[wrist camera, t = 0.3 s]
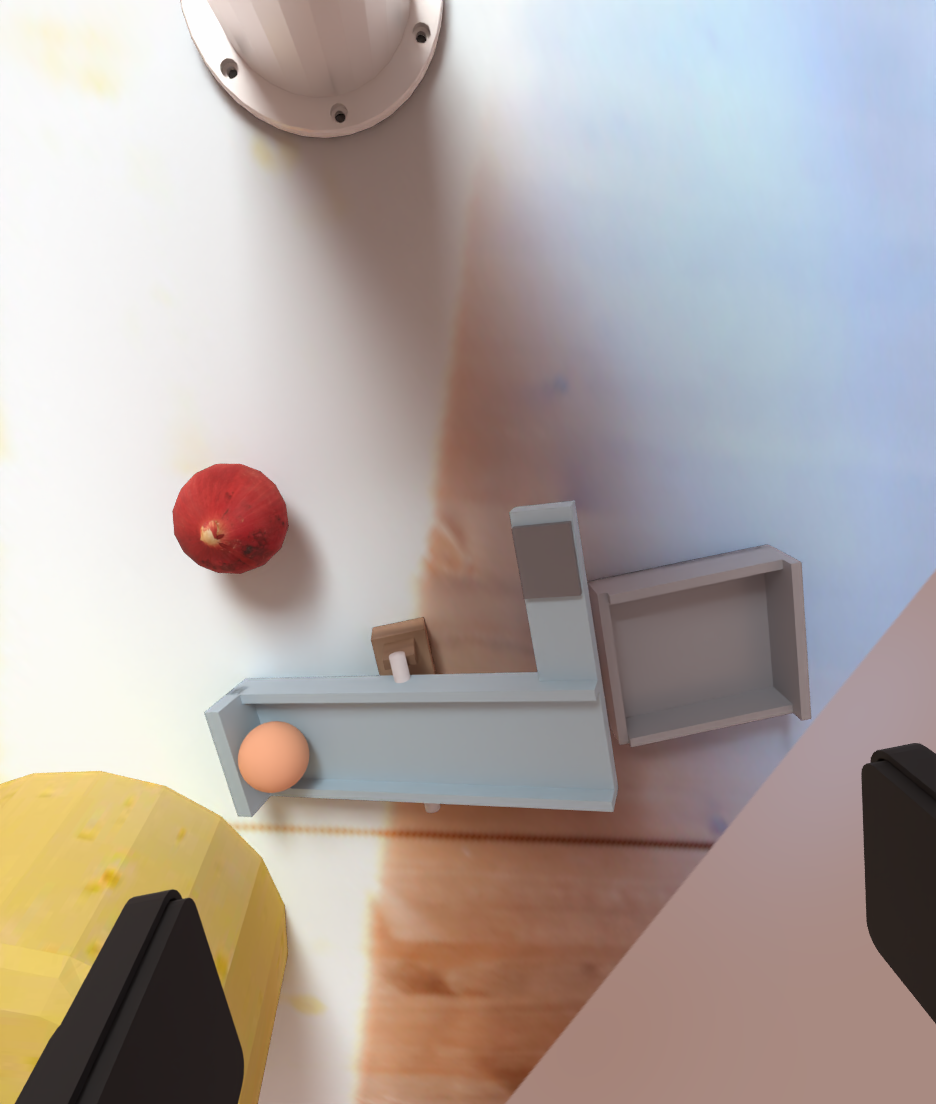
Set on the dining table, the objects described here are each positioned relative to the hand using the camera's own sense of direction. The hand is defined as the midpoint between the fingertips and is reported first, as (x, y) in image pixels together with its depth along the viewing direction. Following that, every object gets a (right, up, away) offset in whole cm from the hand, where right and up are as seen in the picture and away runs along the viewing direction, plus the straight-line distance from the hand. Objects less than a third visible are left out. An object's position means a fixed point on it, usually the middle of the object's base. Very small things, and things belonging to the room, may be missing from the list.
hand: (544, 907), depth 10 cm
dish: (+13, -1, +37) cm, 39 cm away
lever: (-5, -2, +31) cm, 31 cm away
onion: (-14, +8, +32) cm, 36 cm away
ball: (-11, -6, +33) cm, 36 cm away
